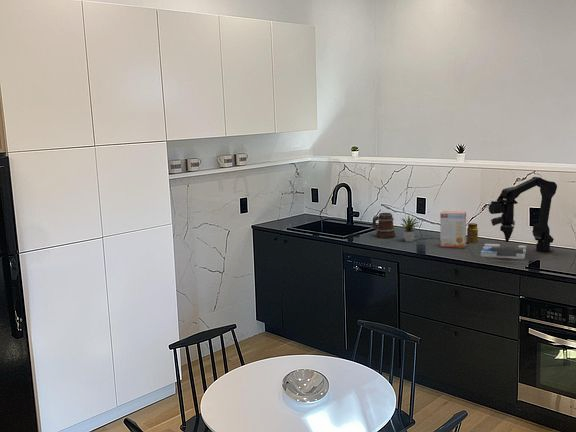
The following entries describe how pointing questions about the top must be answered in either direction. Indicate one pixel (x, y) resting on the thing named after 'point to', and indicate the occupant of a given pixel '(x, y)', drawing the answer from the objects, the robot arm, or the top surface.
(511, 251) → the long grey beam
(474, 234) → the condiment
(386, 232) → the mug
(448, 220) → the cracker box
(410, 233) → the house plant
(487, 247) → the white plate with bars
